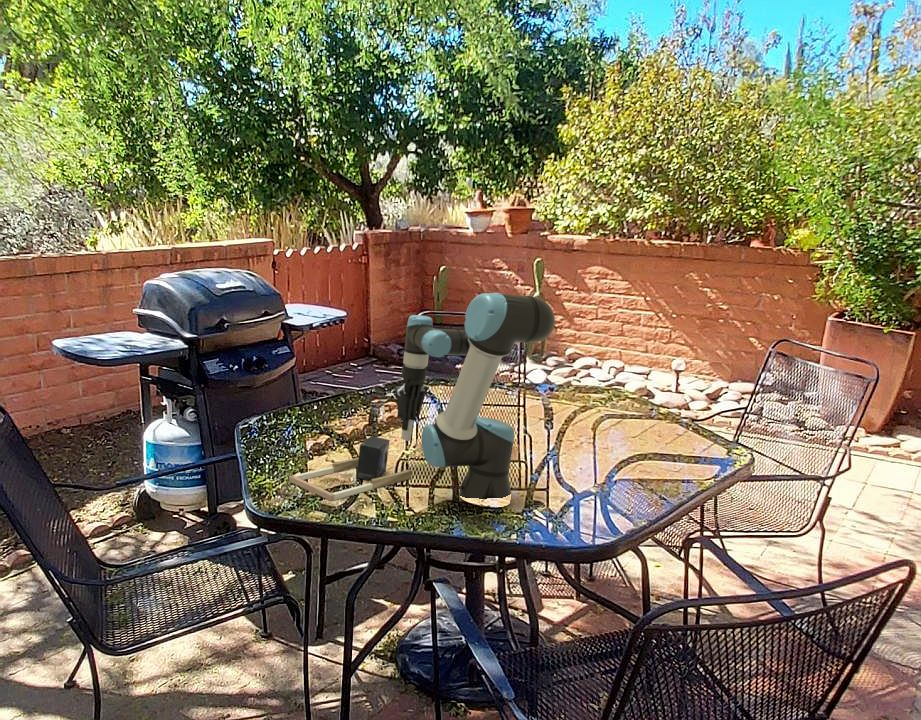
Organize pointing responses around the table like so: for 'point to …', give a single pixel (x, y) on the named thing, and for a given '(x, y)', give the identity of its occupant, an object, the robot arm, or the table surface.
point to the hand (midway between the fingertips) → (405, 439)
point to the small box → (372, 458)
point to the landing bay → (300, 482)
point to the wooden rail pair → (377, 481)
